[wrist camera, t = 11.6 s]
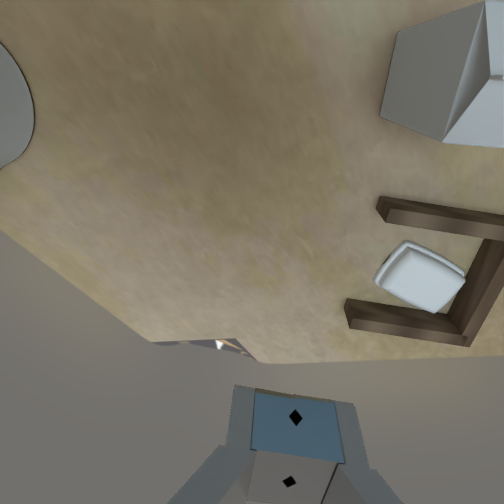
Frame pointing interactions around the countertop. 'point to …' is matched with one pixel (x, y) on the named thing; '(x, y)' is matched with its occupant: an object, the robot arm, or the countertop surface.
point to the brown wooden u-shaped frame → (470, 294)
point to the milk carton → (451, 77)
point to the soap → (420, 276)
